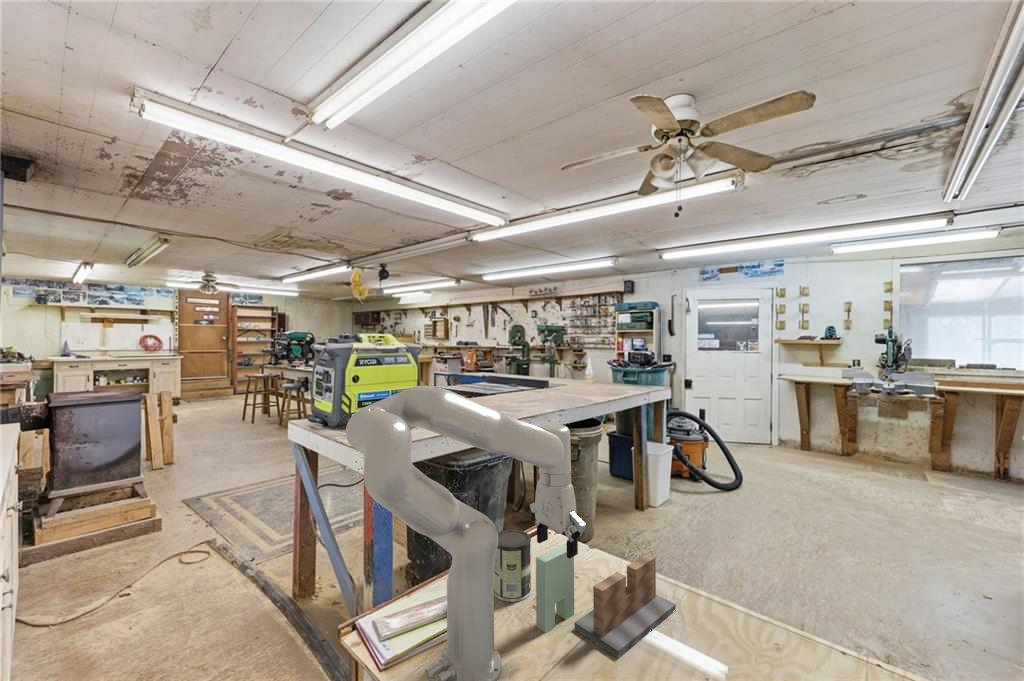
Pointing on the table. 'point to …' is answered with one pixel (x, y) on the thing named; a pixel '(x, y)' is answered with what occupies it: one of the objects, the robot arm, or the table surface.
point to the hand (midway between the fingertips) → (556, 548)
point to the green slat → (554, 587)
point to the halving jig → (625, 608)
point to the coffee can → (512, 566)
